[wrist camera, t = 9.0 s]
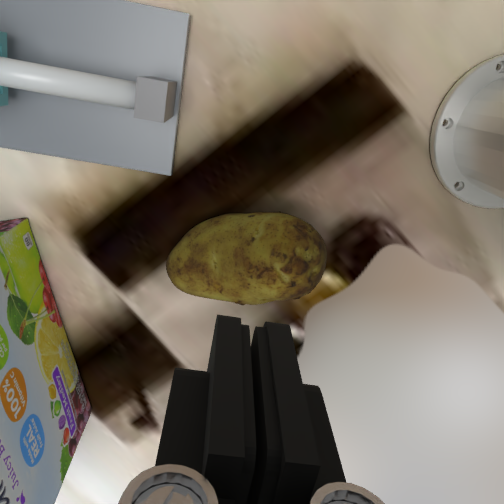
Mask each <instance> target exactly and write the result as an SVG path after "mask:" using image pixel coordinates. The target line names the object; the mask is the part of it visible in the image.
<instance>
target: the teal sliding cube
mask: <svg viewBox="0 0 504 504" xmlns="http://www.w3.org/2000/svg"><path fill="white" fill-rule="evenodd" d="M0 57H5V58H7V33H6V32H1V31H0ZM6 105H8V87H5V86H0V106H6Z"/></svg>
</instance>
